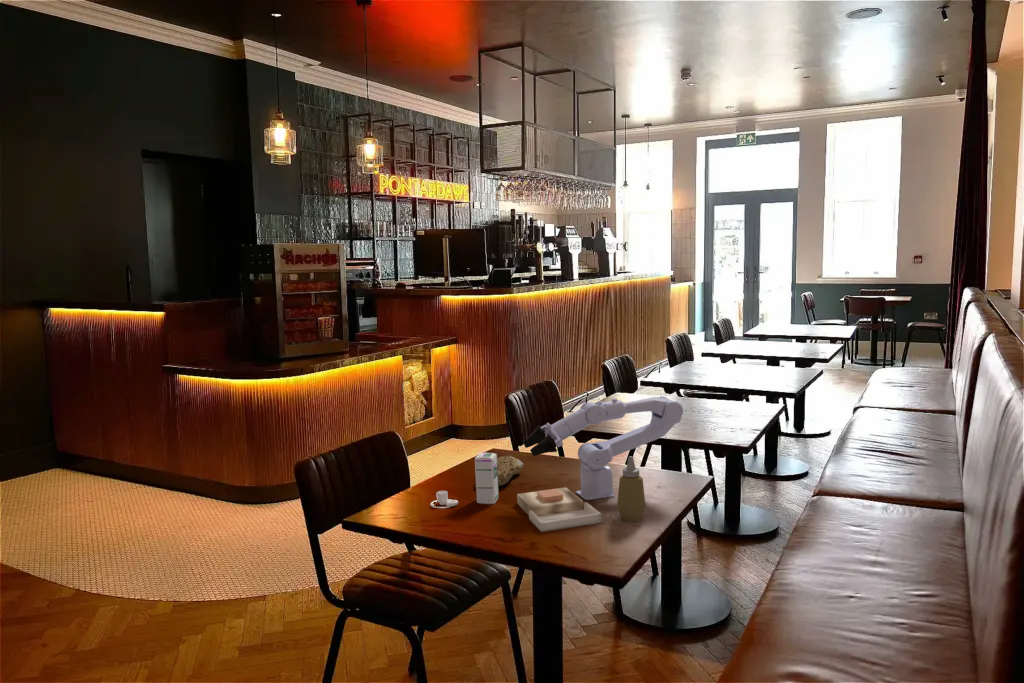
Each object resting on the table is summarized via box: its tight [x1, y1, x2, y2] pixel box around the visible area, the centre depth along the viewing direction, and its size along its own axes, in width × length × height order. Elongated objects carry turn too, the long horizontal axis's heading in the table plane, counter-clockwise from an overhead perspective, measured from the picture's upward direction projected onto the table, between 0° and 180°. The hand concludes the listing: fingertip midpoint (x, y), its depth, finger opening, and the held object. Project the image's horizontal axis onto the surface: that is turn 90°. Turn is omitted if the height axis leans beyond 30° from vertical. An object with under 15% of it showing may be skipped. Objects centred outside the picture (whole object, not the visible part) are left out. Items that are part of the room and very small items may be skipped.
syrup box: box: [474, 452, 500, 505], centre depth 221 cm, size 6×6×14 cm
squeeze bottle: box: [616, 455, 647, 523], centre depth 203 cm, size 8×8×18 cm
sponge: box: [497, 455, 525, 487], centre depth 241 cm, size 13×8×20 cm
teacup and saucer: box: [430, 490, 459, 509], centre depth 220 cm, size 9×8×4 cm
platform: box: [516, 486, 584, 516], centre depth 214 cm, size 16×13×3 cm
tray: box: [528, 501, 603, 533], centre depth 203 cm, size 18×10×2 cm, turn 108°
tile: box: [537, 488, 563, 502], centre depth 214 cm, size 6×6×2 cm
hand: (527, 448), depth 217 cm, fingers open, 7 cm apart
